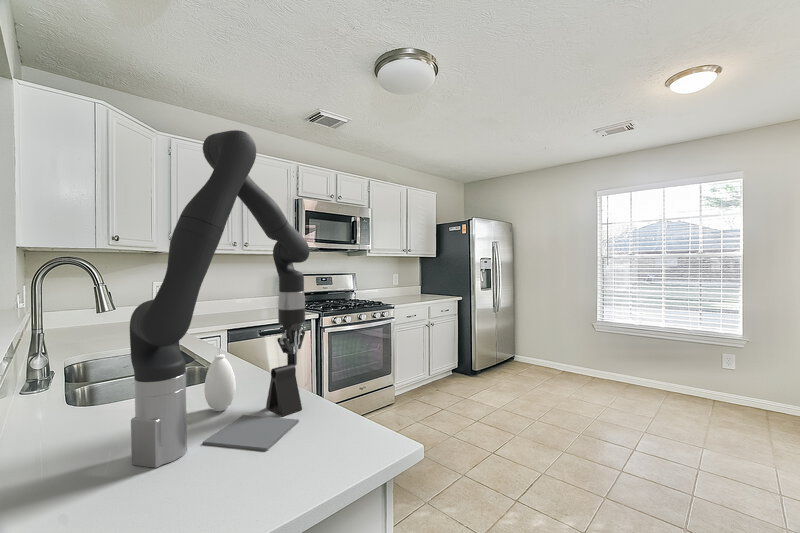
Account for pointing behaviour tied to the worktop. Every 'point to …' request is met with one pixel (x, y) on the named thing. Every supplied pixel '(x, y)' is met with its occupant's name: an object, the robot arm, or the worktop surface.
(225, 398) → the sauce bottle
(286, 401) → the phone stand
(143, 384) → the robot arm
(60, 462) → the worktop surface
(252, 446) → the rubber mat
